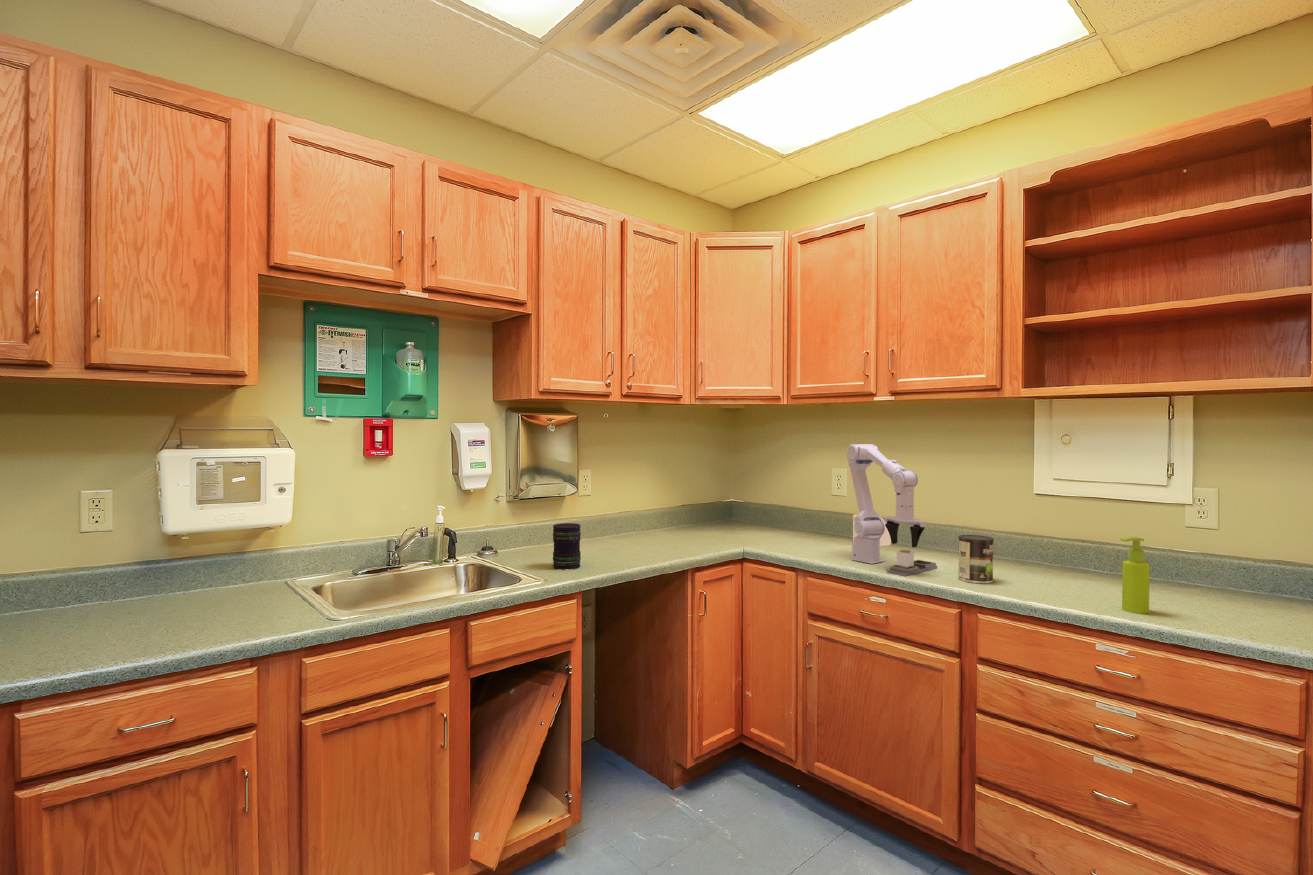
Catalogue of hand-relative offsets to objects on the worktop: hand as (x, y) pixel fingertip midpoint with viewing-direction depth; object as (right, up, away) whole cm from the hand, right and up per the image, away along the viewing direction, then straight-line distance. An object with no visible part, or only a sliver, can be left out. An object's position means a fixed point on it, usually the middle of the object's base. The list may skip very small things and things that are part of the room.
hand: (904, 545), depth 216 cm
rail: (+4, -9, +3) cm, 11 cm away
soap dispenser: (+45, -10, -45) cm, 64 cm away
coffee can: (+19, -10, -11) cm, 24 cm away
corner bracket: (+7, -9, +54) cm, 55 cm away
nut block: (0, -8, 0) cm, 8 cm away
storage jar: (-118, -9, +7) cm, 118 cm away
